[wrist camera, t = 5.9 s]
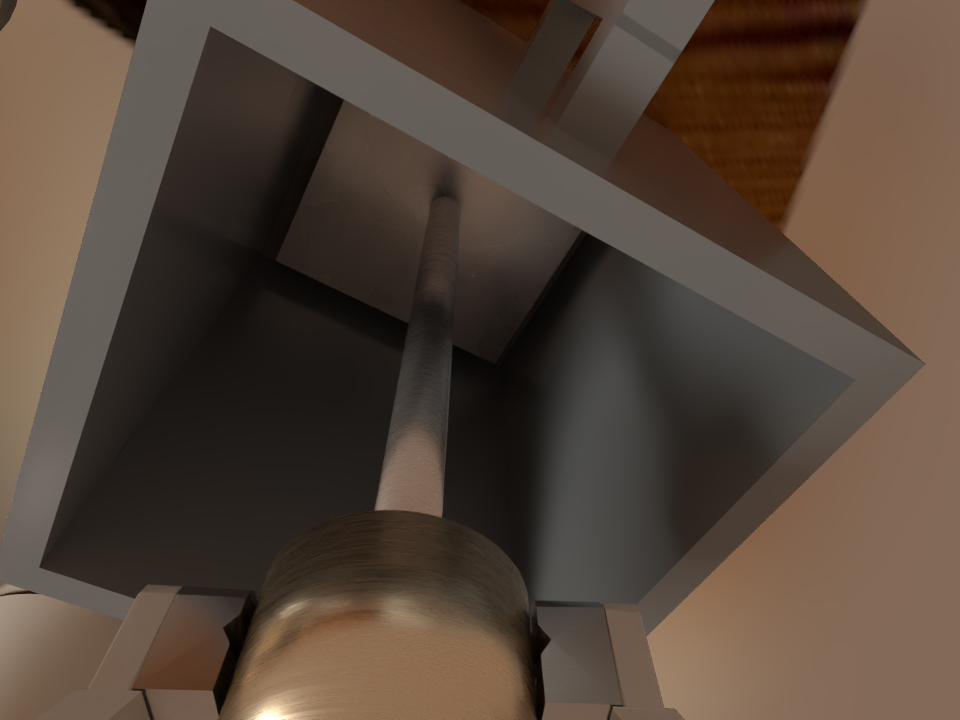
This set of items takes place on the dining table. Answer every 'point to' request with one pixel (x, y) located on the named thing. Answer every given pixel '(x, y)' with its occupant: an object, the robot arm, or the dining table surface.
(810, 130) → the dining table surface
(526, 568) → the box
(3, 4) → the travel mug
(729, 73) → the dining table surface
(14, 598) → the robot arm
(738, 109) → the dining table surface
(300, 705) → the plunger
